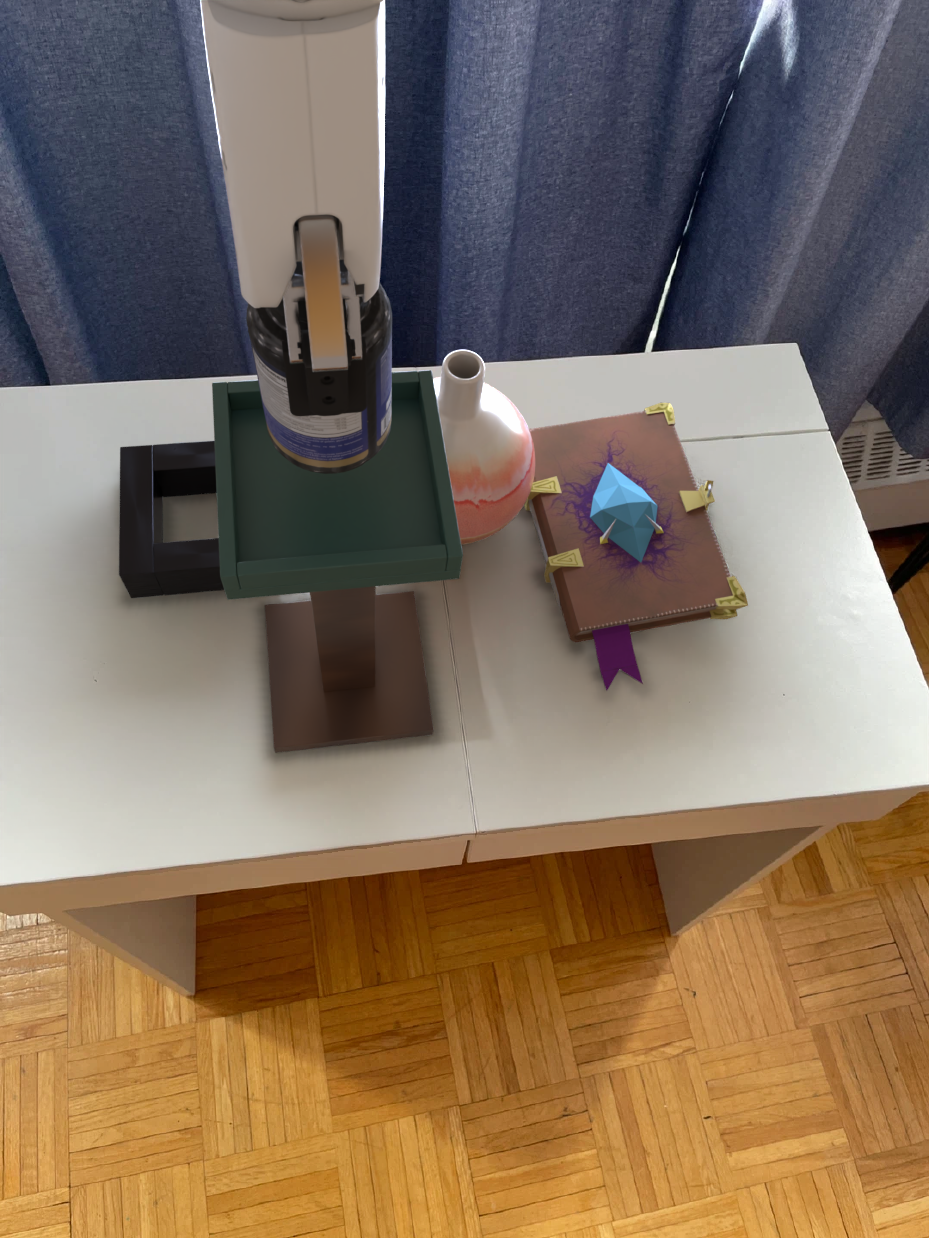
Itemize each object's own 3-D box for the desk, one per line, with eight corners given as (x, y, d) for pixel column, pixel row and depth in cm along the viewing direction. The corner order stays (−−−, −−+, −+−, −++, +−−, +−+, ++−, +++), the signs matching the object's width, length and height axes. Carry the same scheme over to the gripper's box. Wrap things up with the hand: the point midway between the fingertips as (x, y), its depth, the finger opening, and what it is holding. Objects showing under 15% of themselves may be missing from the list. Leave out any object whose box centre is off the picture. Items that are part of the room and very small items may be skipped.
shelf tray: (227, 600, 48) (220, 577, 45) (218, 411, 53) (211, 382, 50) (459, 579, 49) (463, 555, 47) (429, 398, 54) (432, 369, 52)
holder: (130, 598, 75) (118, 575, 71) (131, 474, 80) (119, 446, 76) (282, 585, 77) (277, 561, 73) (273, 464, 82) (268, 436, 78)
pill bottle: (325, 359, 48) (310, 176, 38) (416, 423, 47) (425, 250, 37) (240, 432, 46) (201, 256, 36) (334, 501, 45) (319, 339, 35)
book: (576, 701, 75) (586, 678, 71) (507, 451, 85) (511, 417, 81) (767, 664, 77) (788, 640, 73) (677, 424, 87) (690, 389, 83)
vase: (498, 426, 86) (526, 280, 70) (544, 552, 80) (586, 425, 64) (351, 453, 83) (346, 307, 67) (389, 585, 78) (393, 461, 62)
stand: (275, 752, 71) (227, 600, 48) (266, 611, 76) (218, 411, 53) (432, 734, 72) (459, 579, 49) (413, 597, 77) (429, 398, 54)
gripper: (140, -285, 28) (225, 210, 44) (145, 94, 21) (244, 520, 37) (389, -275, 29) (384, 204, 45) (475, 88, 22) (432, 505, 38)
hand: (321, 343), depth 41 cm, fingers closed on pill bottle, 6 cm apart
